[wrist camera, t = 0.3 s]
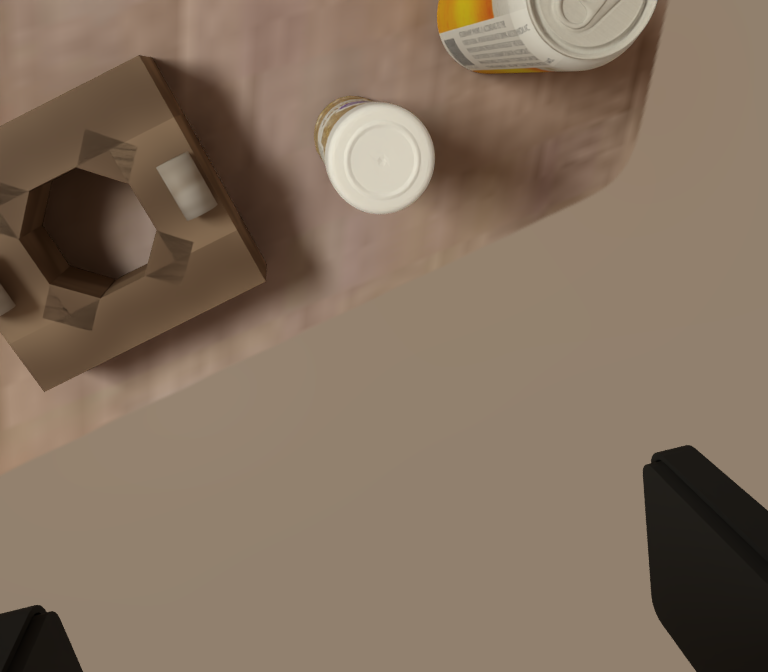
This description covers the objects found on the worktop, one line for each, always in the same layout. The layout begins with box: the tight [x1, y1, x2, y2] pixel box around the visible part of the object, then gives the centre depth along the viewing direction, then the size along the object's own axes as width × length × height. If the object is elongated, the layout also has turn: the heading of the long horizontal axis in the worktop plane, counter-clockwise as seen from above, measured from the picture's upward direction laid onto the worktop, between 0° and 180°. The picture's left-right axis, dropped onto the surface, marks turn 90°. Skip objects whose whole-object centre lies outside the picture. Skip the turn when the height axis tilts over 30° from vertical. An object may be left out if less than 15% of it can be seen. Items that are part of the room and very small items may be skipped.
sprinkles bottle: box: [314, 96, 435, 214], centre depth 36 cm, size 5×5×14 cm
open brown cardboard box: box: [0, 55, 267, 392], centre depth 39 cm, size 13×14×6 cm
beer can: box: [437, 0, 658, 74], centre depth 34 cm, size 6×6×15 cm
